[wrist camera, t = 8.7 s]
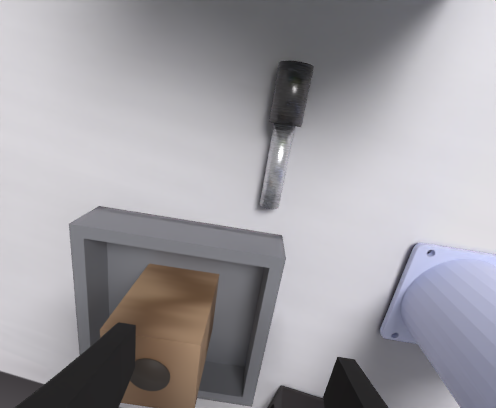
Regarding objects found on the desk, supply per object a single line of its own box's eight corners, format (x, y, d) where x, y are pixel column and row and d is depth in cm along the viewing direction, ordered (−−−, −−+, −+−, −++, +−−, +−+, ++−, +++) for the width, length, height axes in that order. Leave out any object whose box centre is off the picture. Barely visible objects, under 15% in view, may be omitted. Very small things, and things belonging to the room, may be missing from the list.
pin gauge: (278, 64, 15) (280, 58, 13) (310, 70, 15) (316, 64, 13) (255, 200, 17) (254, 209, 16) (282, 204, 17) (284, 214, 16)
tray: (281, 235, 18) (285, 258, 15) (252, 368, 22) (251, 406, 19) (99, 206, 18) (68, 223, 15) (104, 345, 22) (81, 379, 19)
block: (219, 274, 19) (200, 346, 13) (212, 329, 20) (192, 415, 14) (149, 263, 19) (98, 331, 13) (147, 319, 20) (102, 401, 14)
